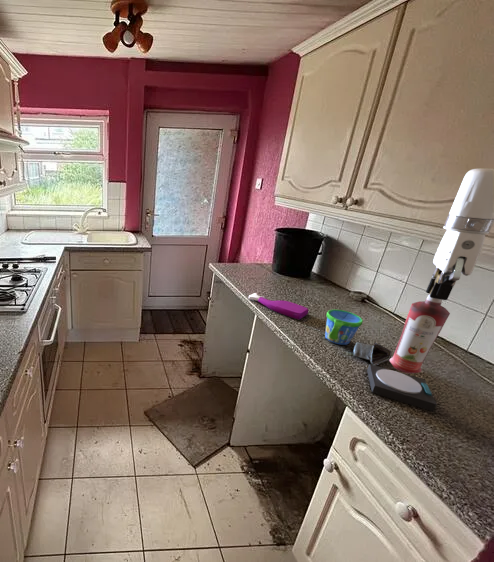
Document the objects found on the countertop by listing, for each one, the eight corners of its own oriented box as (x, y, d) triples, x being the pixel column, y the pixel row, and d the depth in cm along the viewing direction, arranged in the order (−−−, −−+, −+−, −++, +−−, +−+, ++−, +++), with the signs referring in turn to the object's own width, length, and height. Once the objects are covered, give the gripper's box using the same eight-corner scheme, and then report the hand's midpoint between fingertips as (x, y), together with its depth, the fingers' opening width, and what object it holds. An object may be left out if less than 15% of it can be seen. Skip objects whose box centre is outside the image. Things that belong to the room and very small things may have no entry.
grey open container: (369, 348, 111) (355, 328, 106) (393, 353, 104) (379, 333, 100) (358, 370, 108) (343, 352, 104) (382, 377, 102) (367, 358, 98)
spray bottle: (298, 321, 127) (243, 301, 145) (309, 314, 133) (256, 295, 151) (299, 314, 126) (244, 295, 144) (311, 308, 132) (257, 290, 150)
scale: (421, 386, 91) (425, 377, 90) (433, 411, 82) (437, 402, 81) (366, 370, 98) (370, 362, 97) (371, 392, 88) (375, 384, 87)
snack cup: (343, 354, 106) (352, 328, 102) (311, 339, 114) (318, 315, 110) (361, 340, 114) (370, 316, 110) (330, 328, 122) (338, 305, 118)
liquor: (421, 369, 87) (465, 276, 77) (419, 380, 83) (466, 283, 72) (388, 357, 92) (426, 268, 82) (385, 368, 87) (424, 275, 77)
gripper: (507, 232, 64) (468, 312, 71) (476, 221, 77) (445, 289, 84) (457, 227, 68) (424, 303, 75) (435, 218, 81) (409, 283, 88)
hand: (436, 295), depth 79 cm, fingers closed on liquor, 2 cm apart
